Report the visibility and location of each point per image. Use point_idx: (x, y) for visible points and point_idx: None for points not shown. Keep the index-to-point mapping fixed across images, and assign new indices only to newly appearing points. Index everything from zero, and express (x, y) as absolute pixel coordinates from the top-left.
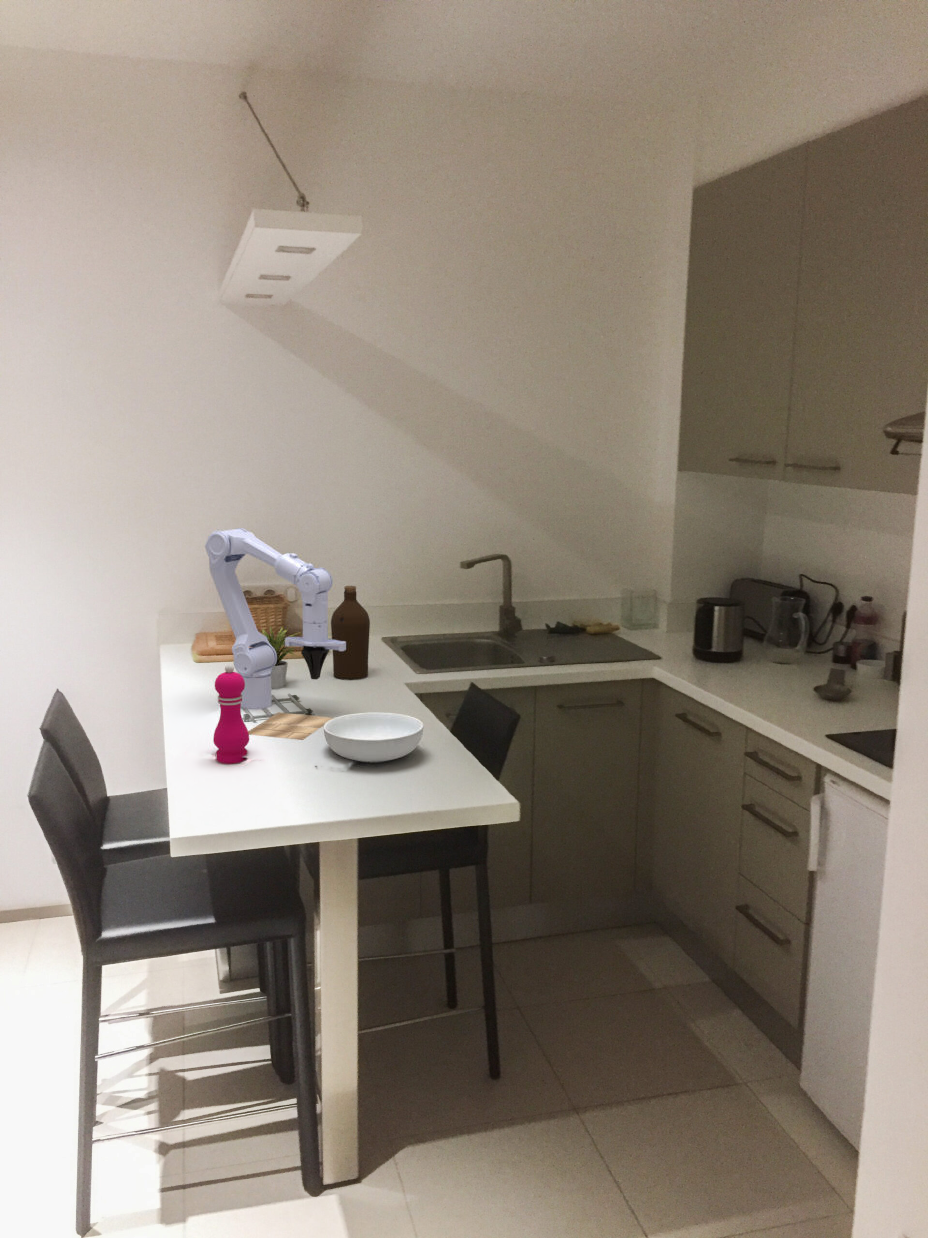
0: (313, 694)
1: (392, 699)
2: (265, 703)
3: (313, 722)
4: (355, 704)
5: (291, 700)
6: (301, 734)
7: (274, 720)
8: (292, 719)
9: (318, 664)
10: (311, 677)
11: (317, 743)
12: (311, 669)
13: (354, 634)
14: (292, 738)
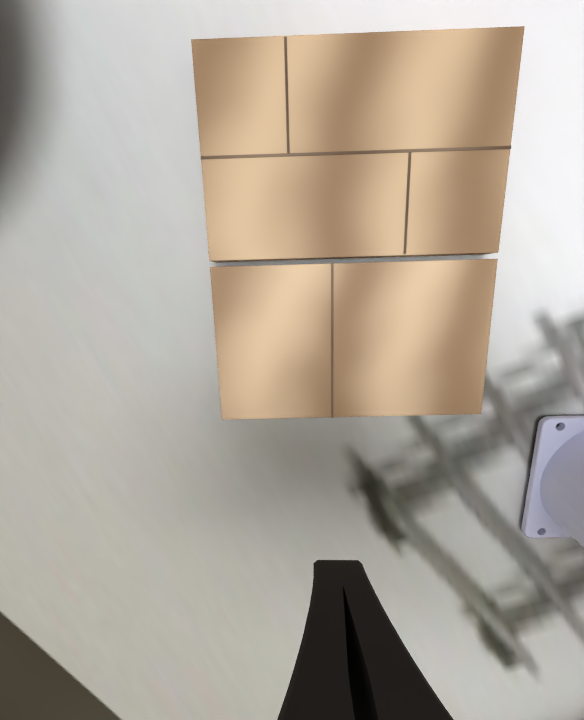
0: (449, 688)
1: (172, 708)
2: (576, 473)
3: (272, 330)
4: (261, 632)
5: (500, 612)
6: (239, 129)
7: (454, 301)
8: (381, 341)
9: (280, 717)
10: (357, 569)
11: (153, 116)
12: (367, 637)
13: None
14: (250, 42)
